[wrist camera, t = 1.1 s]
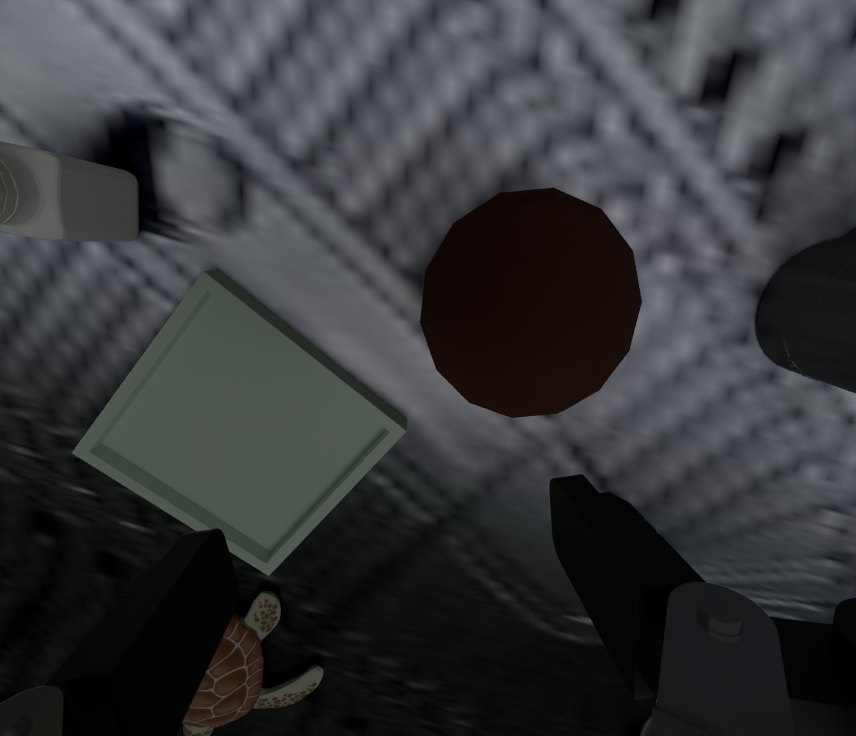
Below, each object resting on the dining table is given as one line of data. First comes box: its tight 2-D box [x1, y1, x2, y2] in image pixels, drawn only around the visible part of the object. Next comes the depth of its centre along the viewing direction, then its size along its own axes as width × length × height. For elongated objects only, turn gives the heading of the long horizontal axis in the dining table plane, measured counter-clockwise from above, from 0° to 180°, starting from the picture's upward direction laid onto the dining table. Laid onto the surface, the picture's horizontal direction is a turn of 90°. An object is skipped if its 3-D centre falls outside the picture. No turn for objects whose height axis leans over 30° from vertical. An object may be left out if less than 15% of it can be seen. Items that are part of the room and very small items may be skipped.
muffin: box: [420, 188, 642, 418], centre depth 22 cm, size 12×11×10 cm
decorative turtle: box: [182, 591, 323, 736], centre depth 33 cm, size 18×17×5 cm
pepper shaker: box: [0, 142, 139, 242], centre depth 20 cm, size 4×4×10 cm
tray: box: [72, 269, 407, 576], centre depth 28 cm, size 16×16×2 cm
